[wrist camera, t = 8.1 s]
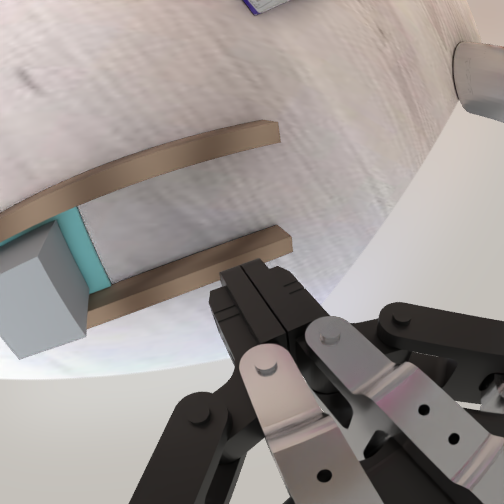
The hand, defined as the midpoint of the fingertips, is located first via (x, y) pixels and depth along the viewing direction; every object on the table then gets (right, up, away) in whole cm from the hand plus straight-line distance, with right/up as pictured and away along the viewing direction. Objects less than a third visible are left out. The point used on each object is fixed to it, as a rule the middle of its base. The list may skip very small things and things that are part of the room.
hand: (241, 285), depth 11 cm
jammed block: (-13, 0, +4) cm, 13 cm away
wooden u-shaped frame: (-7, +2, +6) cm, 10 cm away
